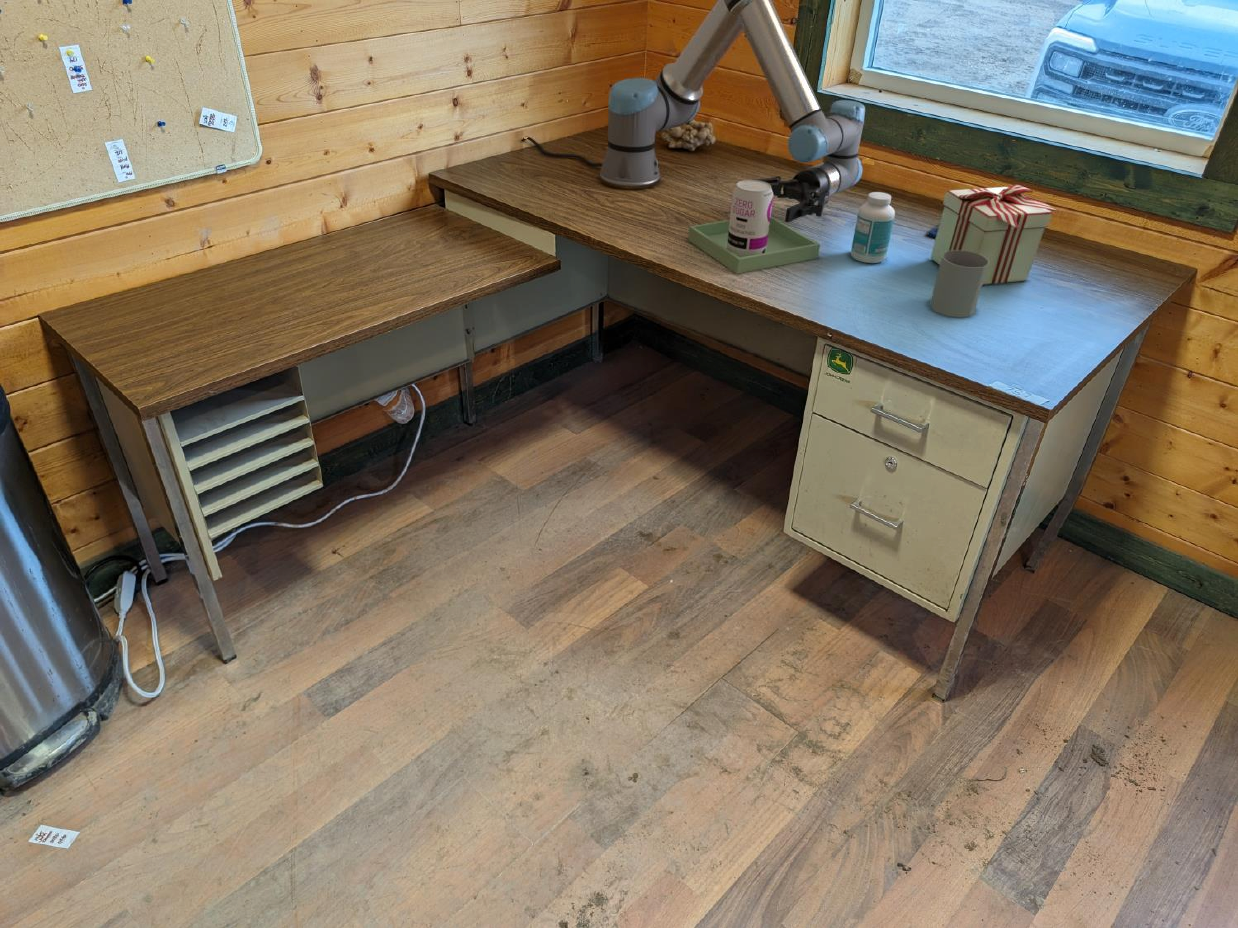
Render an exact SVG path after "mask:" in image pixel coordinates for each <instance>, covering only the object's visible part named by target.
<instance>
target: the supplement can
mask: <svg viewBox="0 0 1238 928" xmlns="http://www.w3.org/2000/svg"><path fill="white" fill-rule="evenodd" d="M732 192H733V194H732V193H731V202H732V203H731V204H730V212H729V213H730V214H729V220H730V222H729V231H728V241H727V249H728V250H729V251H731V252H732V253H734V254H735V255H737V256H738V257H746V256H751V255H756V254H762V253H766V246H767V239H768V232H769V224H770V217H771V216H772V208H773V202H774V201H773V200H774V196H773V192H772V189H771V185H770V184H768V183H766V182H763V181H758V180H756V179H745V180H743V179H742V180H740V181H737V182H736V185H735V187H734V188H733V190H732Z"/></svg>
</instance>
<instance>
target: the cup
mask: <svg viewBox="0 0 1238 928" xmlns="http://www.w3.org/2000/svg"><path fill="white" fill-rule="evenodd" d="M988 264H989V261H988V260H987V259H986V258H985V257H984V256H982V255H980V254H977V253H974V252H970V251H963V250H952V251H947V252H945V253H943V256H942V260H941V263H940V265H939V267H938V271H937V274H936V275H937V276H936V279H935V283H934V287H933V291H932V295H931V297H930V303H929V307H930V308H931V309H932V311H934V312H936V313H938V314H939V315H943V316H947V317H949V318H959V319H961V318H968V317H970V316H973V315H974V314H975V311H976V308H977V304H978V301H979V298H980V295H981V292H982V289H983V286H984V285H983V281H984V278H985V274H986V271H987V268H988Z"/></svg>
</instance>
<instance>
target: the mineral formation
mask: <svg viewBox="0 0 1238 928" xmlns="http://www.w3.org/2000/svg"><path fill="white" fill-rule="evenodd" d="M665 131H666V132H662V133H661V137H662V139H663V141H664V142H665V141H666V142H668V148H669V149H680V148H683V149H686V150H688V151H690V152H694V151H696V149H697V148H698V147H700V146H701V145H706V146H707V147H708V146H709V145H713V144H715V143H716V142H717V140H716V137H715V135H714V132H713V131H714V128H713V124H712V123H711V122H702V121H696V120H695V119H694V118H693V119H691V120H690V121H689V122H687V123H685V124H683V125H682V126H679V127H673V128H669V129H666V130H665Z"/></svg>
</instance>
